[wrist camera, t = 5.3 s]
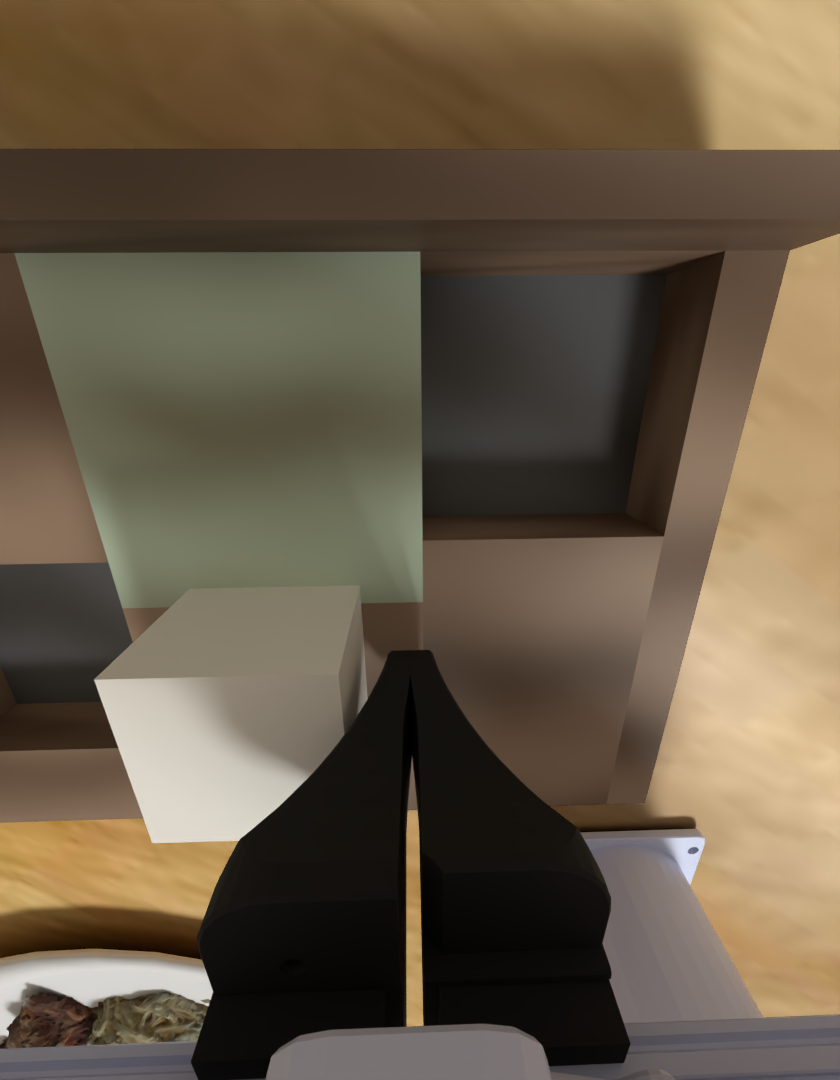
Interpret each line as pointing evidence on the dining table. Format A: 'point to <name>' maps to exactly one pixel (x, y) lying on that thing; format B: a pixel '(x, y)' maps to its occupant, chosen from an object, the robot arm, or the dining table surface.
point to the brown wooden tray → (381, 423)
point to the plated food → (101, 998)
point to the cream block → (234, 703)
